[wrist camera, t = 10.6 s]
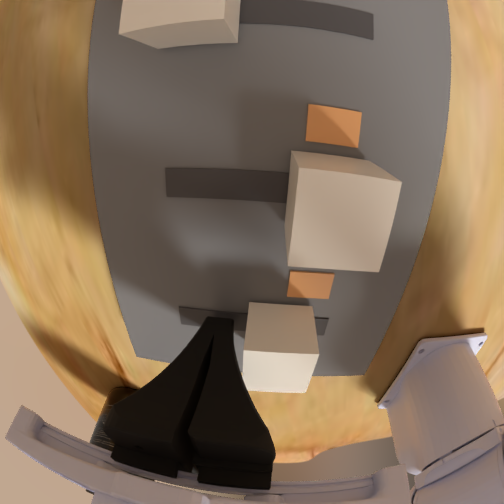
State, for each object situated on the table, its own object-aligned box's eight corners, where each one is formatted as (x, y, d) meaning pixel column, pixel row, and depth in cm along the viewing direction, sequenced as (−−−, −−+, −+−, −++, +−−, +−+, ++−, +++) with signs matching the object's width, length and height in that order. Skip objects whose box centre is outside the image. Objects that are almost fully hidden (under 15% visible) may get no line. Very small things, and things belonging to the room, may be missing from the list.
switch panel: (358, 352, 18) (364, 376, 16) (146, 336, 18) (136, 357, 16) (424, -12, 6) (444, -23, 4) (123, -28, 7) (103, -41, 5)
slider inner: (302, 347, 14) (305, 392, 12) (247, 344, 15) (241, 389, 12) (312, 306, 13) (319, 354, 10) (249, 301, 13) (243, 350, 10)
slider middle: (356, 231, 11) (378, 272, 8) (284, 225, 11) (287, 265, 8) (369, 160, 9) (402, 181, 7) (291, 150, 10) (298, 167, 7)
